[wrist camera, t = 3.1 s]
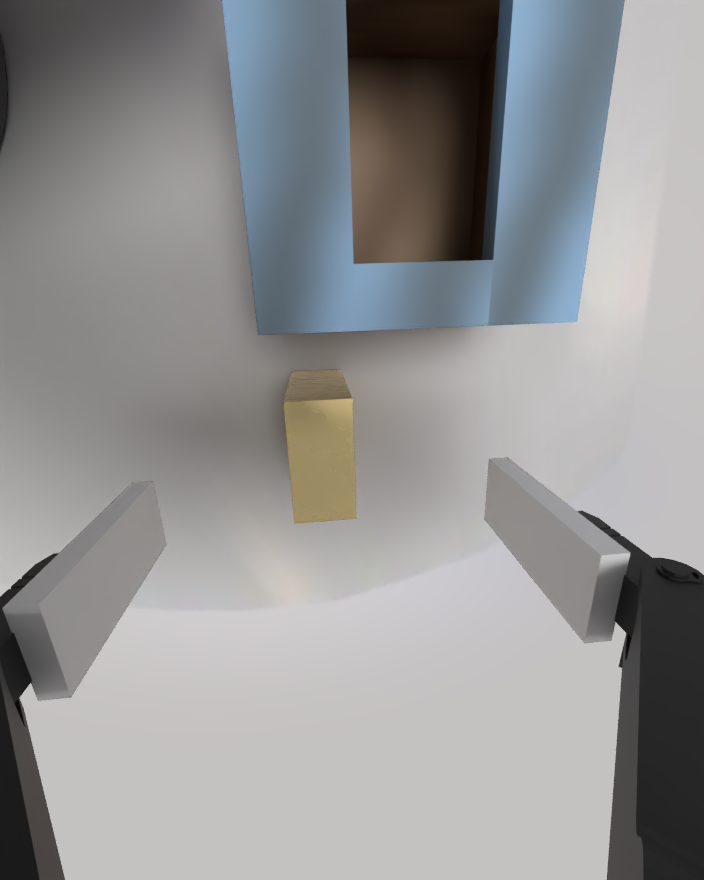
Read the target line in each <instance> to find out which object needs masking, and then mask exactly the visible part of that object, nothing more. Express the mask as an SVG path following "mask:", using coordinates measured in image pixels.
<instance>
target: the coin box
mask: <svg viewBox="0 0 704 880" xmlns="http://www.w3.org/2000/svg"><path fill="white" fill-rule="evenodd" d="M624 1H625V0H222V6H223V15H224V24H225V34H226V43H227V52H228V61H229V70H230V80H231V89H232V98H233V107H234V117H235V126H236V135H237V144H238V154H239V163H240V172H241V181H242V191H243V200H244V209H245V218H246V227H247V237H248V246H249V255H250V264H251V274H252V283H253V292H254V301H255V311H256V320H257V329H258V335H275V334H299V333H323V332H347V331H371V330H394V329H418V328H442V327H466V326H490V325H514V324H538V323H562V322H577V318H578V311H579V305H580V298H581V291H582V284H583V278H584V271H585V264H586V257H587V251H588V244H589V237H590V230H591V224H592V217H593V210H594V203H595V197H596V190H597V183H598V176H599V170H600V163H601V156H602V149H603V143H604V136H605V129H606V122H607V116H608V109H609V102H610V95H611V89H612V82H613V75H614V68H615V62H616V55H617V48H618V41H619V35H620V28H621V21H622V14H623V8H624Z"/></svg>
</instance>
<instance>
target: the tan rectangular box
mask: <svg viewBox="0 0 704 880" xmlns="http://www.w3.org/2000/svg"><path fill="white" fill-rule="evenodd" d="M283 404H284V415H285V425H286V436H287V447H288V458H289V469H290V479H291V490H292V501H293V512H294V522H295V523H308V522H321V521H333V520H346V519H356V489H355V460H354V430H353V401H352V396H351V394H350V392H349V389H348V387H347V384H346V382H345V380H344V377H343V375H342V372H341V370H340V369H334V370H314V371H293V372H292V373H291V377H290V380H289V384H288V387H287V391H286V395H285V398H284V402H283Z"/></svg>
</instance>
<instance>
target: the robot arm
mask: <svg viewBox="0 0 704 880" xmlns="http://www.w3.org/2000/svg"><path fill="white" fill-rule="evenodd" d="M6 109H7V79H6V69H5V62H4V56H3V50H2V45H1V41H0V142H1V138H2V135H3V130H4V125H5V118H6ZM484 519H485V521H486V522H487V523H488V524H489V526H490V527H491V528H492V529H493V531H494V532H495V533H496V534H497V536H498V537H499V538H500V539H501V541H502V542H503V543H504V544H505V546H506V547H507V548H508V549H509V551H510V552H511V553H512V554H513V555H514V557H515V558H516V559H517V560H518V561H519V563H520V564H521V565H522V567H523V568H524V569H525V570H526V571H527V573H528V574H529V575H530V577H531V578H532V579H533V580H534V582H535V583H536V584H537V585H538V586H539V588H540V589H541V590H542V591H543V593H544V594H545V595H546V596H547V598H548V599H549V600H550V601H551V603H552V604H553V605H554V606H555V608H556V609H557V610H558V611H559V613H560V614H561V615H562V616H563V617H564V619H565V620H566V621H567V622H568V624H569V625H570V626H571V627H572V629H573V630H574V631H575V632H576V634H577V635H578V636H579V637H580V639H581V640H582V641H583V642H584V643H593V642H602V641H611V640H612V635H613V631H614V626H615V622H616V623H617V624H618V625H619V626H620V627H621V628H622V629H623V630H624V631H625V632H626V638H625V642H624V646H623V651H622V655H621V659H620V664H619V667H621V668H622V678H621V692H620V707H619V720H618V733H617V747H616V762H615V776H614V789H613V803H612V817H611V830H610V845H609V858H608V859H609V860H608V872H607V880H704V575H702V573H700V572H699V571H698V570H696V569H694V568H692V567H690V566H688V565H686V564H684V563H681V562H677V561H675V560H670V559H665V558H652V557H650V556H649V555H648V554H646V553H645V552H643V551H642V550H641V549H640V548H638V547H637V546H636V545H634V544H633V543H631V542H630V541H629V540H627V539H626V538H625V537H623V536H621V535H620V534H619V533H618V532H616V531H615V530H614V529H611V527H610V526H608V525H607V524H606V523H604V522H603V521H602V520H600V519H599V518H597V517H595V516H593V515H590V514H588V513H586V512H583V511H576V510H574V509H573V508H572V507H571V506H569V505H568V504H567V503H566V502H564V501H563V500H562V499H560V498H559V497H558V496H556V495H555V494H554V493H553V492H551V491H550V490H549V489H547V488H546V487H545V486H544V485H542V484H541V483H540V482H538V481H537V480H536V479H535V478H533V477H532V476H531V475H529V474H528V473H527V472H525V471H524V470H523V469H522V468H520V467H519V466H518V465H516V464H515V463H514V462H513V461H511V460H510V459H509V458H492V459H489V466H488V478H487V491H486V503H485V516H484ZM165 546H166V540H165V535H164V530H163V526H162V521H161V516H160V511H159V507H158V502H157V497H156V493H155V488H154V483H153V481H151V482H136V483H131V484H130V485H129V486H128V487H127V488H126V489H125V490H124V491H123V492H122V493H121V494H120V495H119V496H118V497H117V498H116V499H115V500H114V501H113V502H112V503H111V504H110V505H109V506H108V507H107V508H105V509H104V510H103V511H102V512H101V513H100V514H99V515H98V516H97V517H96V518H95V519H94V520H93V521H92V522H91V523H90V524H89V525H88V526H87V527H86V528H85V529H84V530H83V531H82V532H81V533H80V534H79V535H77V536H76V537H75V538H74V539H73V540H72V541H71V542H70V543H69V544H68V545H67V546H66V547H65V548H64V549H63V550H62V551H61V552H60V553H57V554H52V555H51V556H49V557H47V558H46V559H44V560H42V561H41V562H39V563H37V564H35V565H34V566H33V567H32V568H31V569H30V570H29V571H28V572H27V573H26V574H24V575H23V576H22V579H19V580H18V581H17V582H16V583H15V584H14V585H13V586H11V589H8V590H7V591H6V592H5V593H4V594H3V595H2V596H1V597H0V880H65V878H64V874H63V870H62V865H61V861H60V857H59V853H58V849H57V845H56V841H55V837H54V832H53V828H52V824H51V820H50V816H49V812H48V808H47V804H46V799H45V795H44V791H43V787H42V783H41V779H40V775H39V770H38V766H37V762H36V758H35V754H34V750H33V746H32V742H31V738H30V733H29V729H28V725H27V721H26V717H25V713H24V709H23V706H22V704H21V701H20V699H19V697H20V696H21V695H22V693H23V692H24V690H25V689H26V688H27V687H28V685H29V684H30V683H31V684H32V686H33V689H34V692H35V694H36V697H37V700H38V701H41V700H50V699H60V698H70V697H72V695H73V694H74V692H75V690H76V689H77V687H78V685H79V684H80V682H81V681H82V679H83V678H84V676H85V674H86V673H87V671H88V669H89V668H90V666H91V665H92V663H93V661H94V660H95V658H96V657H97V655H98V653H99V652H100V650H101V649H102V647H103V645H104V643H105V642H106V641H107V639H108V637H109V636H110V634H111V633H112V631H113V629H114V628H115V626H116V624H117V623H118V621H119V620H120V618H121V616H122V615H123V613H124V612H125V610H126V608H127V607H128V605H129V604H130V602H131V600H132V599H133V597H134V596H135V594H136V592H137V591H138V589H139V588H140V586H141V584H142V583H143V581H144V580H145V578H146V576H147V575H148V573H149V571H150V570H151V568H152V567H153V565H154V563H155V562H156V560H157V559H158V557H159V555H160V554H161V552H162V551H163V549H164V547H165Z"/></svg>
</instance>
